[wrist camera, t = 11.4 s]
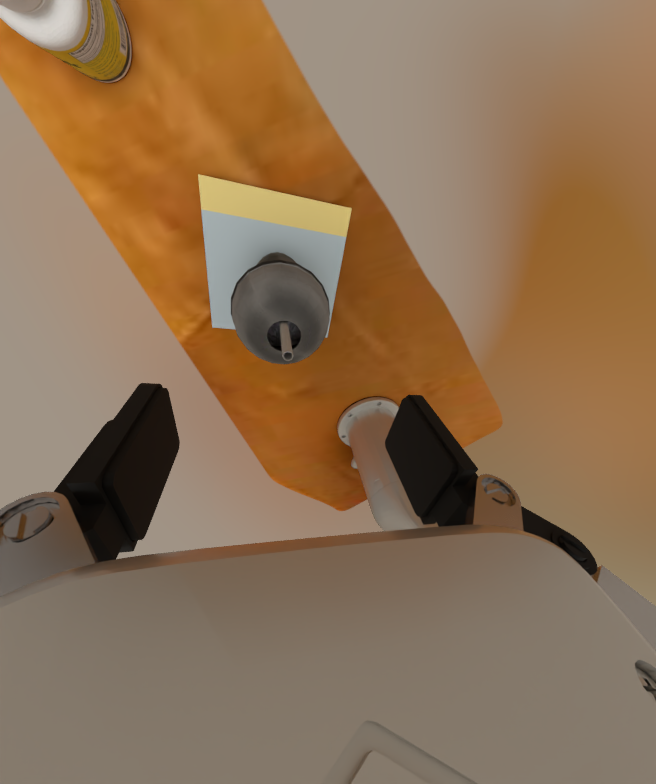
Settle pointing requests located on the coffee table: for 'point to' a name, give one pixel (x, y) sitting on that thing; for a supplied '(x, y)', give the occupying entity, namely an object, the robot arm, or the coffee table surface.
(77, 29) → the supplement bottle
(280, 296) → the beverage cup
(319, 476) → the coffee table surface
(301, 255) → the plate
